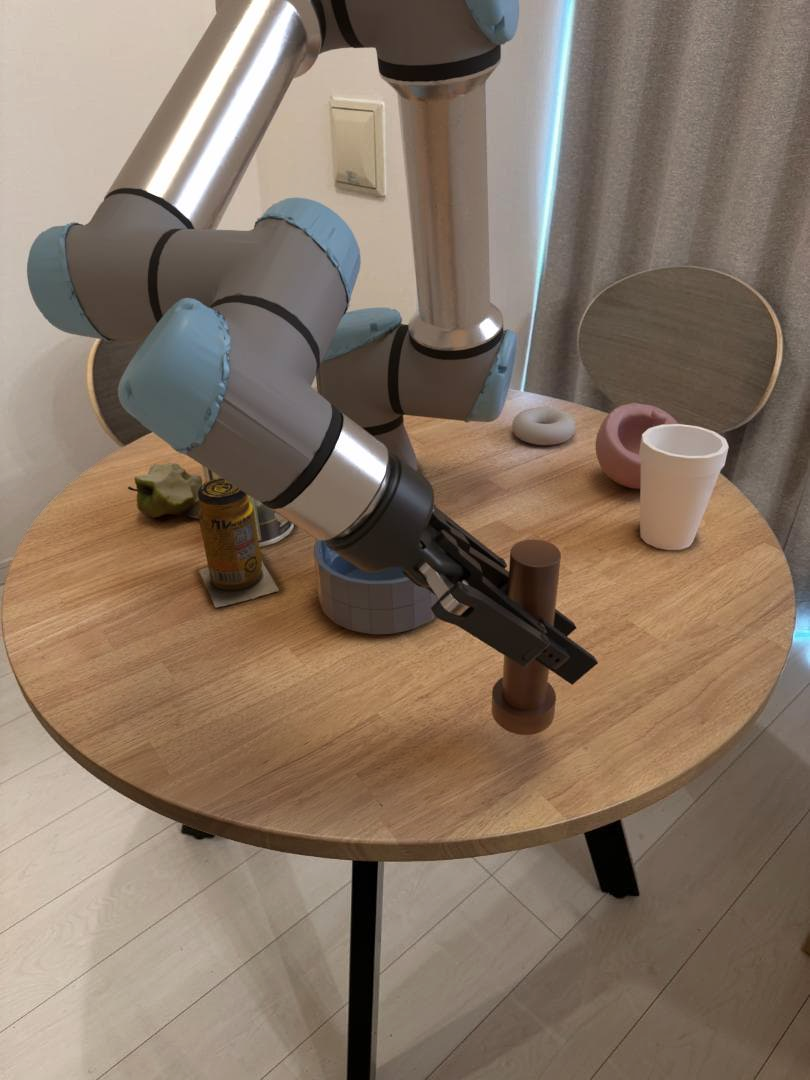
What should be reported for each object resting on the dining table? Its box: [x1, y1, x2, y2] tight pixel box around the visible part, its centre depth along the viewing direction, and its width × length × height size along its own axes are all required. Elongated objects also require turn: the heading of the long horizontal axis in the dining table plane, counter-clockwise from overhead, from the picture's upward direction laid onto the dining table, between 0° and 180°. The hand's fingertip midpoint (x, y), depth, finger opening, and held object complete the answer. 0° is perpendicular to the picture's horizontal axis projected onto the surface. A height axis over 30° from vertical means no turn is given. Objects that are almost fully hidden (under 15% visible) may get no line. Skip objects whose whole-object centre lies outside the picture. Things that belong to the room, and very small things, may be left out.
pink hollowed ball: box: [595, 402, 679, 490], centre depth 100 cm, size 12×12×12 cm
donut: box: [511, 406, 577, 446], centre depth 117 cm, size 10×4×10 cm
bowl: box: [313, 539, 439, 635], centre depth 80 cm, size 14×14×7 cm
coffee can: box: [202, 465, 295, 548], centre depth 92 cm, size 10×10×14 cm
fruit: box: [127, 463, 203, 520], centre depth 99 cm, size 9×9×8 cm
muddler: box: [490, 539, 562, 736], centre depth 57 cm, size 5×5×16 cm
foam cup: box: [639, 423, 730, 551], centre depth 88 cm, size 10×9×13 cm
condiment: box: [198, 478, 280, 608], centre depth 83 cm, size 7×8×12 cm
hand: (572, 652), depth 59 cm, fingers closed on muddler, 4 cm apart
